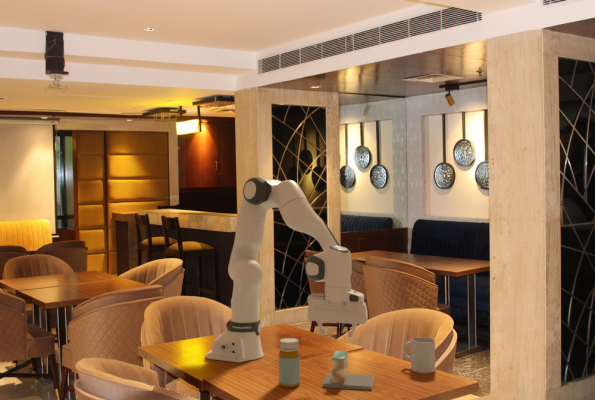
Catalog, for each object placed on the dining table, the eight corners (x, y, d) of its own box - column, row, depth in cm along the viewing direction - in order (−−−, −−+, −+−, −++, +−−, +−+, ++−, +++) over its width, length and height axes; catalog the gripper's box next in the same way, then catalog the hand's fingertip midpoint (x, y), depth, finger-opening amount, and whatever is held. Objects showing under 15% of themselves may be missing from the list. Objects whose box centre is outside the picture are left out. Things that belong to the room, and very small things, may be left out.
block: (332, 382, 191) (332, 358, 191) (336, 374, 199) (335, 351, 199) (344, 383, 190) (344, 358, 190) (347, 374, 199) (347, 351, 199)
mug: (439, 369, 208) (438, 338, 208) (429, 375, 202) (429, 343, 201) (408, 363, 215) (408, 334, 215) (398, 369, 209) (398, 339, 209)
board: (322, 387, 189) (322, 383, 189) (328, 376, 201) (328, 372, 201) (371, 390, 186) (371, 386, 186) (374, 378, 198) (374, 375, 198)
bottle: (278, 382, 195) (278, 337, 195) (298, 381, 196) (298, 337, 196) (279, 388, 188) (279, 343, 188) (300, 388, 189) (300, 342, 189)
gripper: (305, 293, 193) (304, 335, 193) (366, 297, 188) (365, 340, 188) (309, 291, 199) (308, 331, 199) (368, 294, 194) (367, 335, 194)
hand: (336, 335), depth 193 cm, fingers open, 8 cm apart
